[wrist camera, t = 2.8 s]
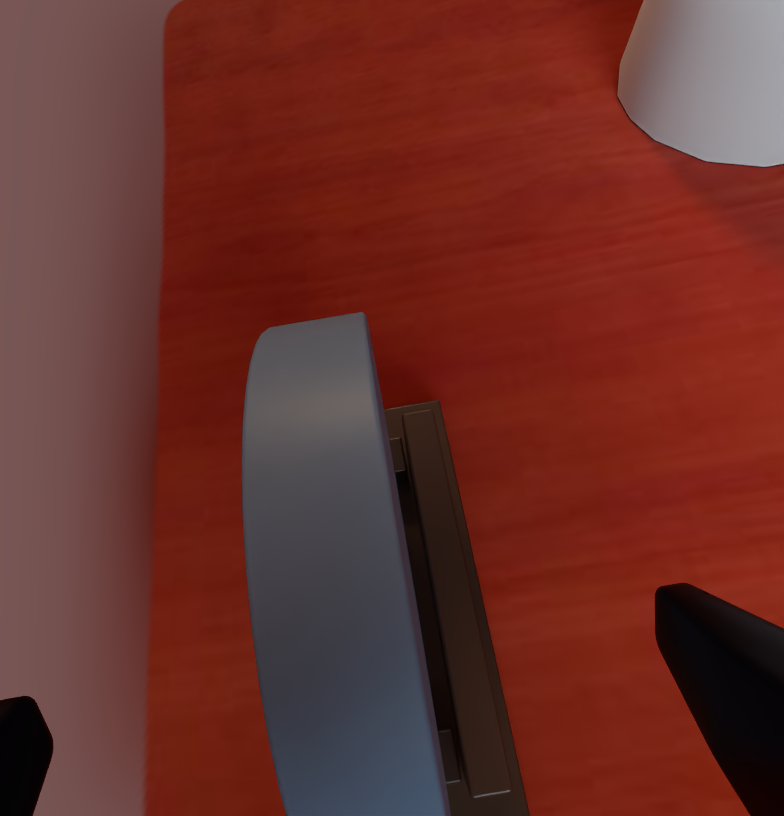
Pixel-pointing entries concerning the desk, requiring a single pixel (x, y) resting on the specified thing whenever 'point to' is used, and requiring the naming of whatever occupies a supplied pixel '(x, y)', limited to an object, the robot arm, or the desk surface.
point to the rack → (453, 621)
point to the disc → (333, 581)
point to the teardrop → (708, 78)
